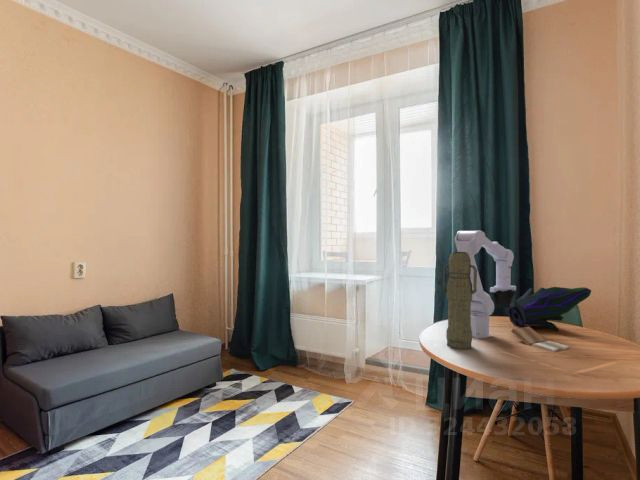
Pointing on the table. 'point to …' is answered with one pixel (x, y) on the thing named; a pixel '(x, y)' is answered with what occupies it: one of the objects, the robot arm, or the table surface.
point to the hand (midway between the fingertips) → (503, 307)
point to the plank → (528, 335)
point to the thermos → (459, 300)
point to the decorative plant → (545, 305)
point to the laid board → (550, 346)
